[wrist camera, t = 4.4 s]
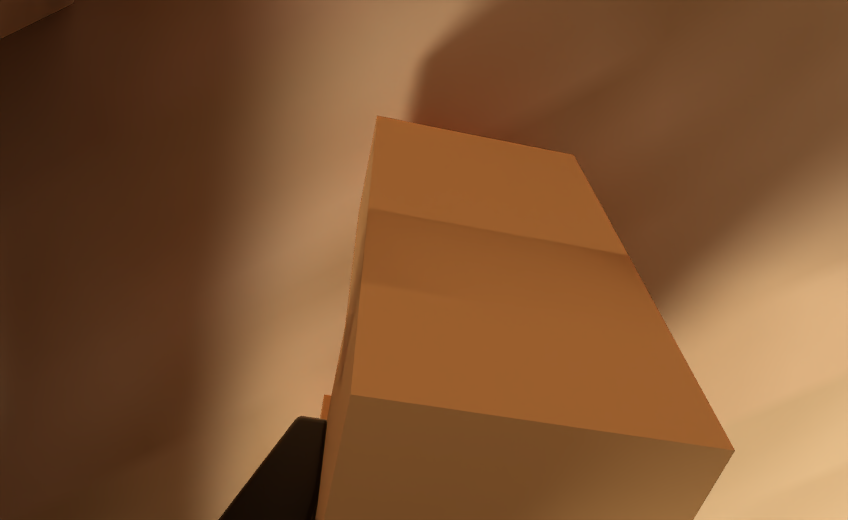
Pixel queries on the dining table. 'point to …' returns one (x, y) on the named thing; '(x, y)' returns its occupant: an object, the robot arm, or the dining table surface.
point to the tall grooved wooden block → (504, 350)
